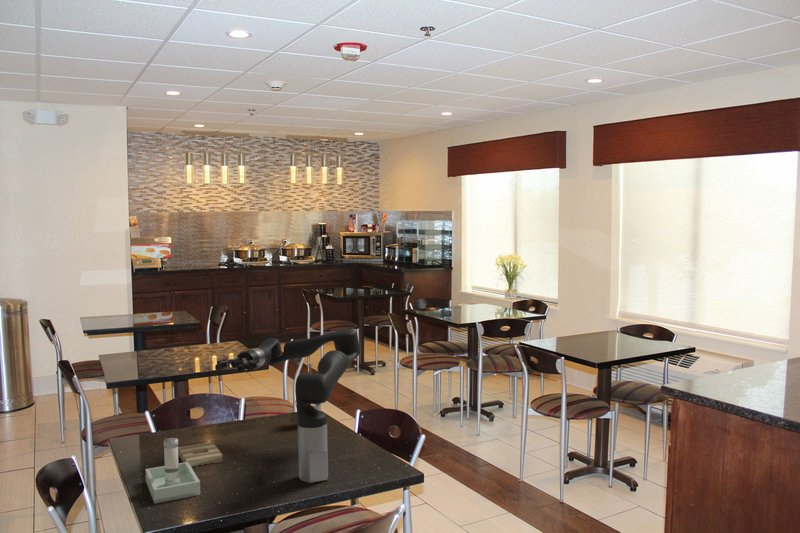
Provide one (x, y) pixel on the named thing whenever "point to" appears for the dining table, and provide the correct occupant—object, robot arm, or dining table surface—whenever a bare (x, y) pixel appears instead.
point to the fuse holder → (200, 454)
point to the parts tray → (185, 488)
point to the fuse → (171, 461)
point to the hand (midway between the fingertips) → (227, 368)
